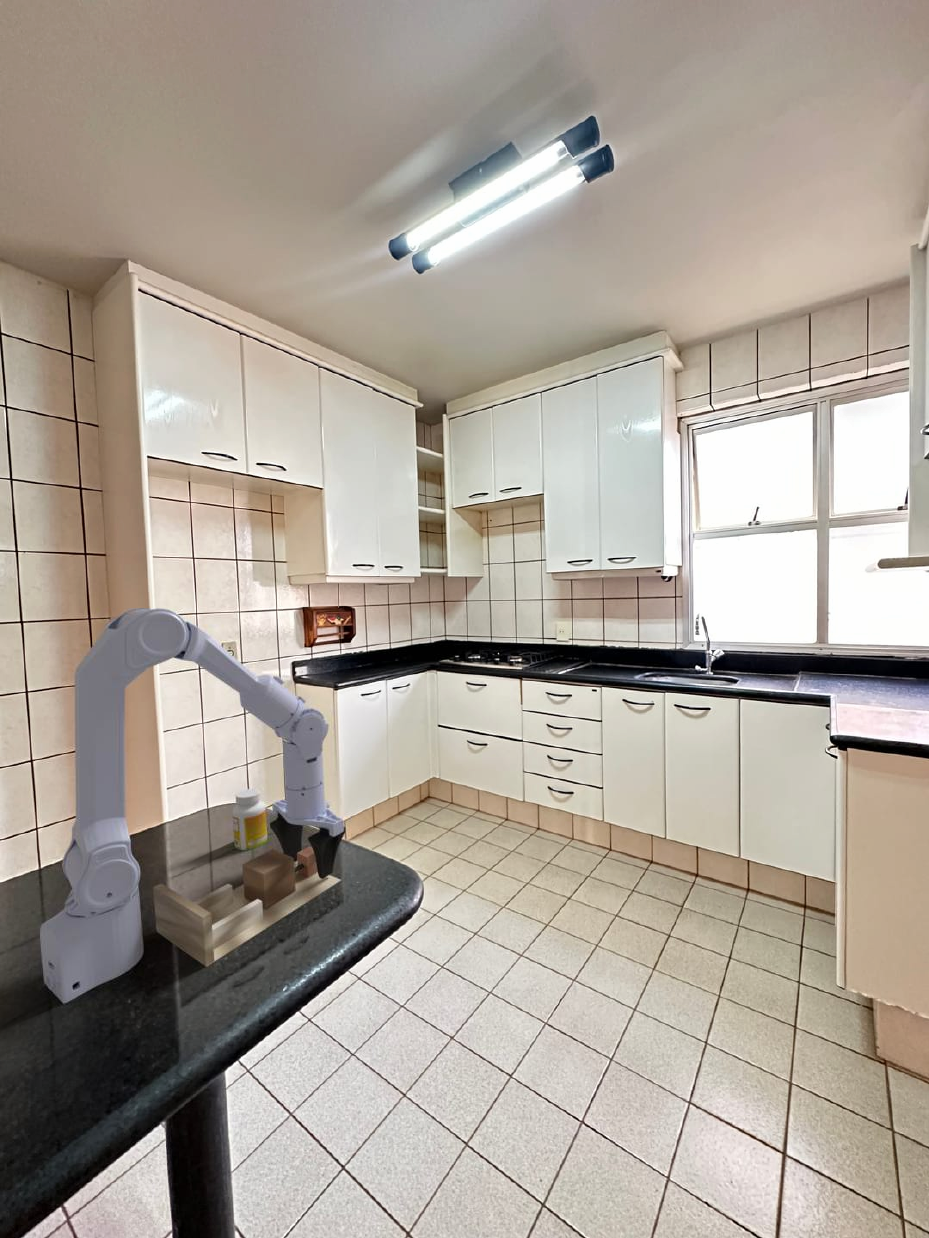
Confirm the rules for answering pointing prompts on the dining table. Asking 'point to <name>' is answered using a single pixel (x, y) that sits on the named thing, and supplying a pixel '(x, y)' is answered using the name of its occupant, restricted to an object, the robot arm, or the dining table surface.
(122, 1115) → the dining table surface
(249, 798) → the supplement bottle
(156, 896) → the shelf lane
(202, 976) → the dining table surface
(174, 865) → the dining table surface
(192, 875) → the dining table surface
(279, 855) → the walnut block
